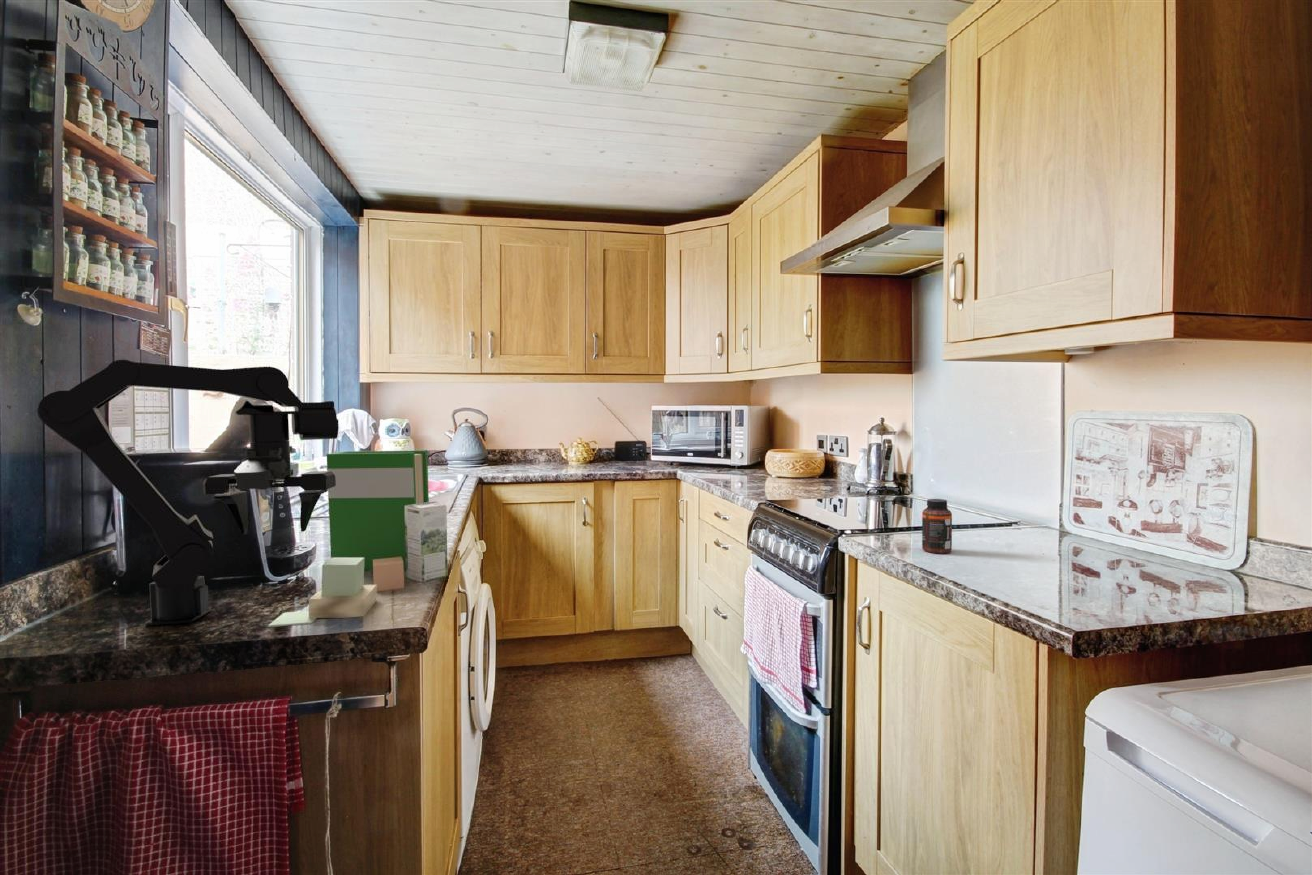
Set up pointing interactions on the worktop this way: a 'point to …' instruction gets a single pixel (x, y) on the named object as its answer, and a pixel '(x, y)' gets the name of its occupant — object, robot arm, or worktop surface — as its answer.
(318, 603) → the beech block
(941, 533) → the supplement bottle
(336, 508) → the hardback book
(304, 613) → the sage swatch
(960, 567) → the worktop surface
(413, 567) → the syrup box
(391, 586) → the terracotta cube
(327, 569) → the sage cube
